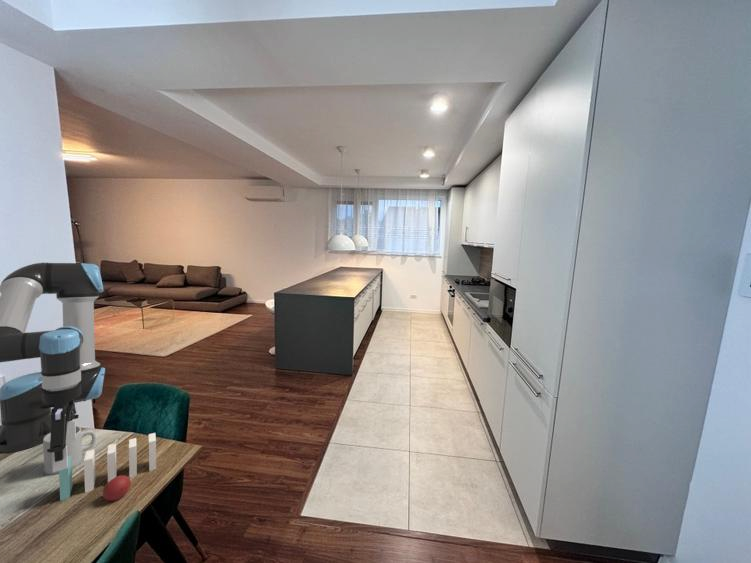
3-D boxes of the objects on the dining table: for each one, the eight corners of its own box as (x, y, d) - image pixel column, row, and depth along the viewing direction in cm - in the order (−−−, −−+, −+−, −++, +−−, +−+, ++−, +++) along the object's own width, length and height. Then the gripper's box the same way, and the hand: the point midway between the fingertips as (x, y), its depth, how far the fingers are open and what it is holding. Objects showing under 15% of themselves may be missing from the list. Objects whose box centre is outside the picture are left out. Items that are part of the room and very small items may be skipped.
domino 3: (108, 484, 89) (107, 454, 88) (109, 474, 93) (108, 445, 92) (115, 482, 90) (115, 452, 89) (116, 472, 94) (116, 443, 93)
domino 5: (149, 471, 95) (149, 442, 94) (149, 462, 99) (148, 434, 98) (156, 468, 96) (156, 440, 96) (155, 459, 100) (155, 432, 99)
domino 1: (60, 500, 83) (58, 468, 82) (63, 489, 87) (62, 457, 86) (69, 497, 84) (68, 465, 83) (72, 486, 88) (71, 455, 87)
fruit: (107, 511, 82) (114, 494, 80) (97, 495, 84) (104, 478, 82) (132, 496, 88) (139, 479, 86) (123, 481, 90) (130, 464, 87)
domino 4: (129, 477, 92) (128, 448, 91) (129, 468, 96) (129, 439, 95) (136, 475, 93) (136, 446, 92) (136, 465, 97) (136, 437, 96)
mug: (45, 479, 90) (44, 445, 89) (43, 465, 95) (41, 433, 94) (98, 459, 99) (97, 428, 98) (93, 447, 104) (92, 418, 103)
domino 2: (85, 492, 86) (83, 460, 85) (87, 481, 90) (86, 451, 89) (93, 489, 87) (92, 458, 86) (95, 479, 91) (94, 449, 90)
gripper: (52, 371, 89) (55, 435, 92) (28, 410, 70) (33, 490, 73) (86, 366, 94) (89, 427, 96) (73, 401, 75) (76, 477, 77)
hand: (65, 454), depth 84 cm, fingers open, 13 cm apart
